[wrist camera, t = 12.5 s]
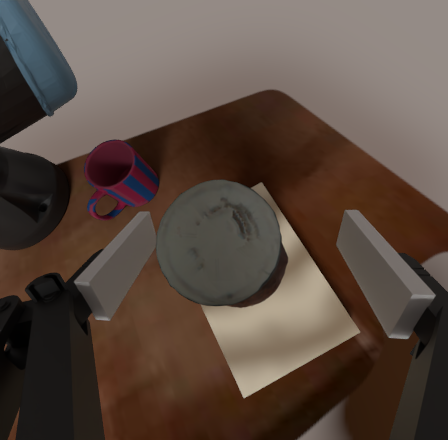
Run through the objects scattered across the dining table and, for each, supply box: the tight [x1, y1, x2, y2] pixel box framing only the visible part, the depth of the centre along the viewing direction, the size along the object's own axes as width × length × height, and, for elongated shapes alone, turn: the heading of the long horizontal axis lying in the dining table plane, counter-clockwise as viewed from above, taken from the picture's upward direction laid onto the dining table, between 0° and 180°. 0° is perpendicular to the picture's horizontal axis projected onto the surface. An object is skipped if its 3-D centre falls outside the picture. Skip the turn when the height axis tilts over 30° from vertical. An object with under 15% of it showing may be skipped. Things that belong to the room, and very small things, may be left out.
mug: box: [84, 140, 159, 220], centre depth 29 cm, size 7×10×7 cm
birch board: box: [201, 182, 360, 398], centre depth 26 cm, size 20×14×2 cm
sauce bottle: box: [156, 180, 288, 308], centre depth 16 cm, size 7×6×20 cm
